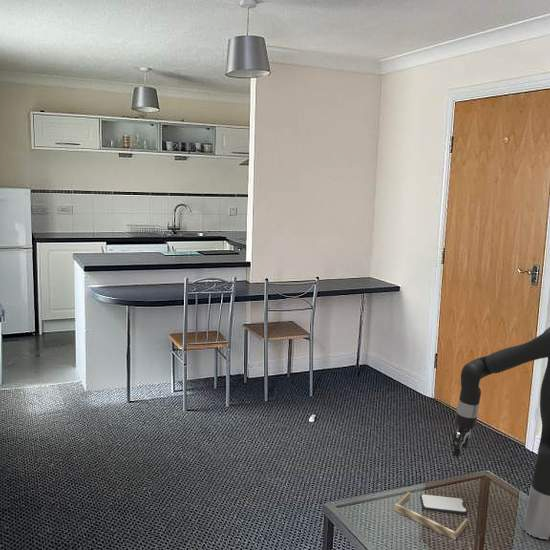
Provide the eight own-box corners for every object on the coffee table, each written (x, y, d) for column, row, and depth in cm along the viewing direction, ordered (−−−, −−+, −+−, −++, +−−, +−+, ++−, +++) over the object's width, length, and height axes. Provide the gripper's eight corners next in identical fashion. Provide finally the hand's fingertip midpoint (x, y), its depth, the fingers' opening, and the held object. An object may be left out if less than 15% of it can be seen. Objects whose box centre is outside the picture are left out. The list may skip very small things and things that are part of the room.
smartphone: (422, 511, 219) (467, 516, 217) (423, 507, 218) (468, 512, 217) (419, 497, 227) (462, 501, 226) (419, 493, 227) (463, 498, 225)
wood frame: (466, 525, 212) (468, 518, 211) (455, 540, 203) (456, 534, 203) (407, 497, 225) (408, 491, 224) (394, 510, 217) (395, 504, 216)
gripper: (470, 422, 213) (463, 463, 217) (483, 409, 224) (476, 448, 228) (450, 415, 217) (443, 455, 221) (463, 402, 228) (456, 440, 232)
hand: (459, 451), depth 225 cm, fingers open, 8 cm apart
